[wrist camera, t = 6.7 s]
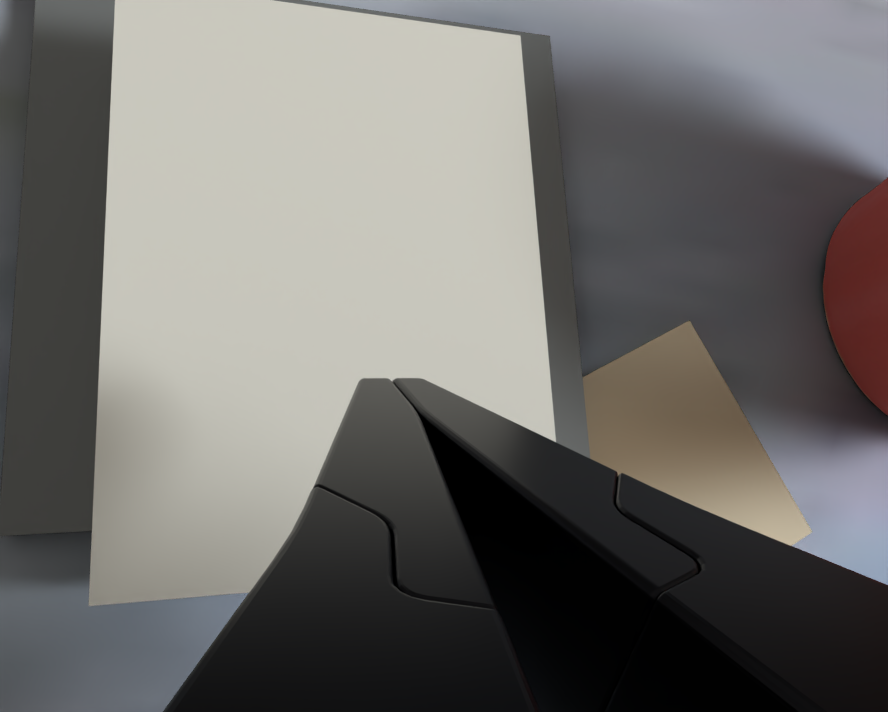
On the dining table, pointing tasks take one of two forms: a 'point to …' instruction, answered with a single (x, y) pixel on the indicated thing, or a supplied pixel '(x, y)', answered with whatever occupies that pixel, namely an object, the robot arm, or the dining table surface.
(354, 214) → the tile
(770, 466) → the spatula
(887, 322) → the flower pot
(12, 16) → the dining table surface
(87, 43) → the mat
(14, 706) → the dining table surface
